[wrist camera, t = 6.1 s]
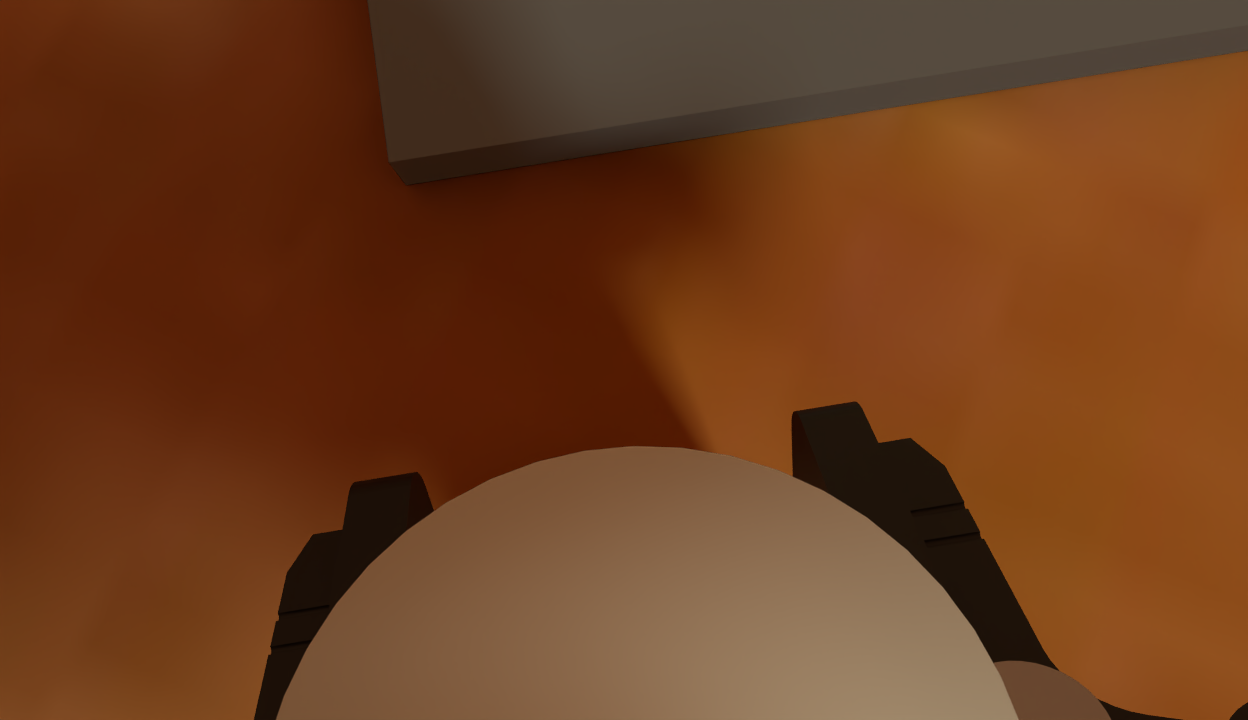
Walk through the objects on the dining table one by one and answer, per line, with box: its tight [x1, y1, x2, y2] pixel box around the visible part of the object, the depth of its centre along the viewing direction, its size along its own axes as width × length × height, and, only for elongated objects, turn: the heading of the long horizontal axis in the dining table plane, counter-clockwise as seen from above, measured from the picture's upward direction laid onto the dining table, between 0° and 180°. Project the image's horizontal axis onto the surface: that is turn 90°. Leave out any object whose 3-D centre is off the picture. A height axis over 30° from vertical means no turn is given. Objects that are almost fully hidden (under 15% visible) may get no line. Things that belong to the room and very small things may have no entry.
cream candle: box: [276, 446, 1019, 720], centre depth 11 cm, size 4×4×11 cm
